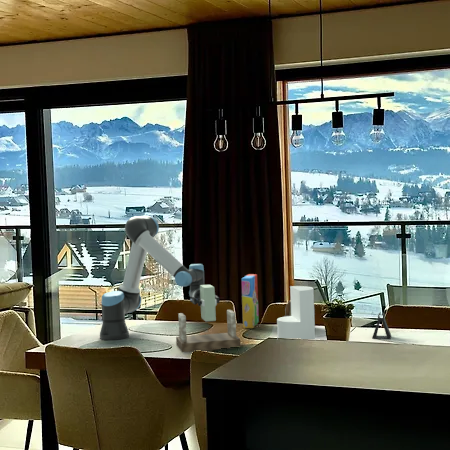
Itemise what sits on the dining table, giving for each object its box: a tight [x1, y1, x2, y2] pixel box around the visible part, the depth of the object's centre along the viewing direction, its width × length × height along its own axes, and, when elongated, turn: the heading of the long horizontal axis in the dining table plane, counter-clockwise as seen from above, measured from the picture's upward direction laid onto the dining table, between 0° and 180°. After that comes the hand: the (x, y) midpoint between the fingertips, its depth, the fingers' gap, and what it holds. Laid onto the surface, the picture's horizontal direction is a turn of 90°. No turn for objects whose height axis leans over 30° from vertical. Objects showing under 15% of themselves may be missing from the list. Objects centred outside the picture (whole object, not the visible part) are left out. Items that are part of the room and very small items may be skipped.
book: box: [200, 284, 217, 322], centre depth 361 cm, size 5×11×16 cm, turn 12°
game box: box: [241, 273, 260, 329], centre depth 413 cm, size 21×6×27 cm, turn 168°
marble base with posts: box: [175, 309, 241, 353], centre depth 362 cm, size 28×18×16 cm, turn 102°
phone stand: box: [371, 312, 392, 340], centre depth 367 cm, size 9×6×12 cm, turn 75°
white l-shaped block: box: [276, 285, 316, 340], centre depth 349 cm, size 17×17×28 cm
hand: (209, 303), depth 356 cm, fingers closed on book, 5 cm apart
